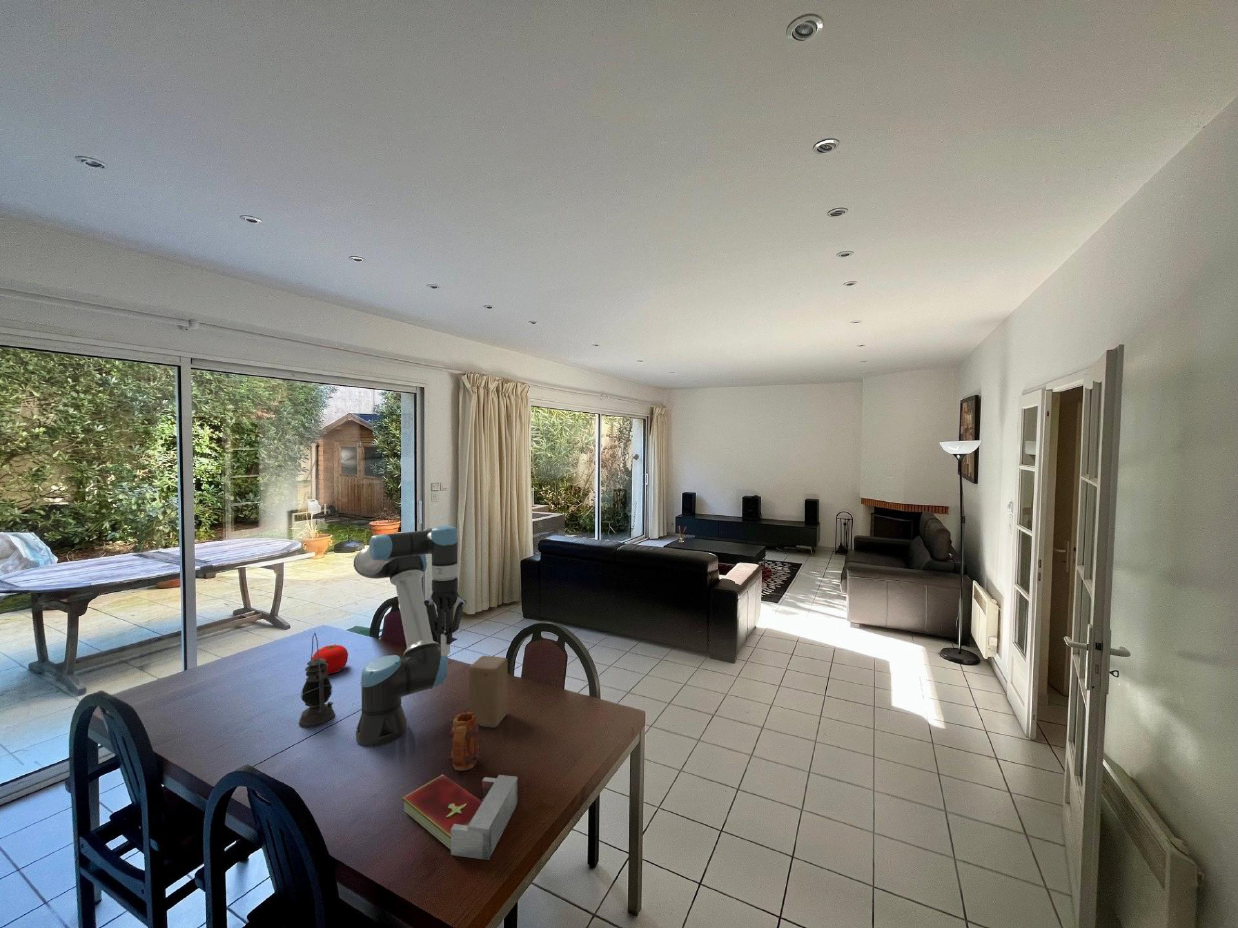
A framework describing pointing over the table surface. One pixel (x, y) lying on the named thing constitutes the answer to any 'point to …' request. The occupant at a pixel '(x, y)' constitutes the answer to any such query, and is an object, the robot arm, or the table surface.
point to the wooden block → (488, 690)
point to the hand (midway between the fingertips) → (445, 654)
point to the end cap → (486, 819)
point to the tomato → (333, 657)
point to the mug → (464, 741)
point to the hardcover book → (441, 807)
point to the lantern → (316, 694)
